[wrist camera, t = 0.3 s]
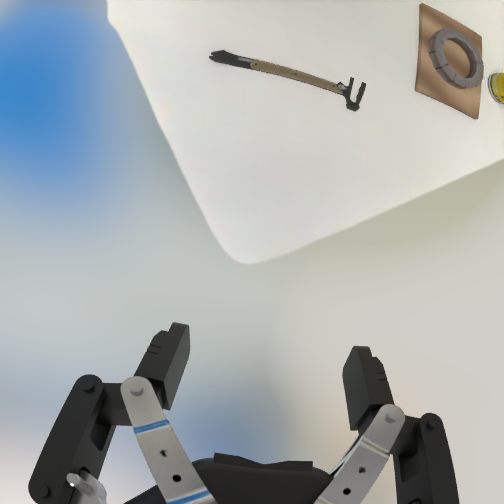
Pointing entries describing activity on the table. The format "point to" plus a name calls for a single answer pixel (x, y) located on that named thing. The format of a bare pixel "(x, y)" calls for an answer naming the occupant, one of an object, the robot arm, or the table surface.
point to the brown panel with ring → (449, 62)
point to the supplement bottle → (497, 87)
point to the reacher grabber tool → (290, 75)
